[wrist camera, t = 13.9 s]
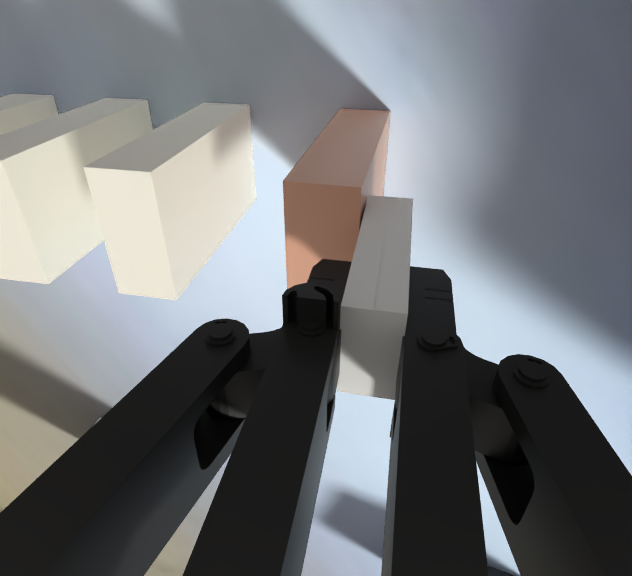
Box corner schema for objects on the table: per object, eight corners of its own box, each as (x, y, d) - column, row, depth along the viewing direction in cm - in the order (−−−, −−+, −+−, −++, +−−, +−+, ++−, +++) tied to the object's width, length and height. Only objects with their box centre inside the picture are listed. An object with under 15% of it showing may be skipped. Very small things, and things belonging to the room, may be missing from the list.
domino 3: (147, 99, 24) (1, 160, 16) (164, 191, 27) (48, 284, 18) (105, 97, 24) (-59, 155, 16) (126, 188, 27) (-4, 277, 19)
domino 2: (249, 104, 23) (150, 172, 15) (256, 199, 26) (176, 300, 18) (204, 102, 23) (83, 167, 15) (215, 195, 26) (119, 293, 18)
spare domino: (390, 110, 22) (361, 187, 14) (382, 209, 24) (353, 322, 16) (340, 108, 22) (283, 180, 14) (337, 205, 25) (288, 313, 17)
